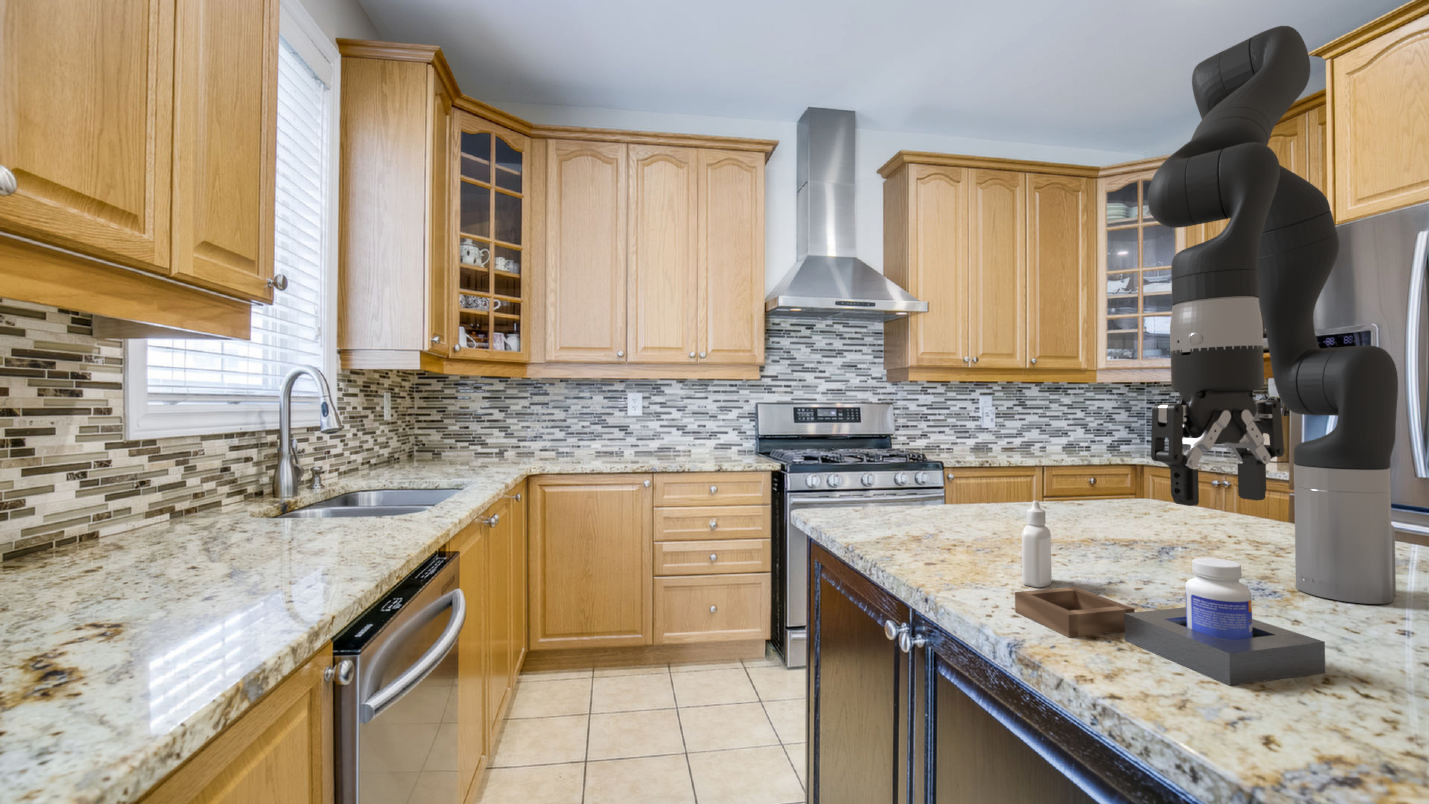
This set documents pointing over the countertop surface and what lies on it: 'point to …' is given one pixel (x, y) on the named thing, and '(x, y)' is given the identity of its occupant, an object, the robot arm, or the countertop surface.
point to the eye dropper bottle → (1036, 549)
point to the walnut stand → (1085, 618)
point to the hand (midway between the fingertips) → (1219, 502)
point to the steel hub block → (1226, 648)
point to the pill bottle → (1218, 600)
